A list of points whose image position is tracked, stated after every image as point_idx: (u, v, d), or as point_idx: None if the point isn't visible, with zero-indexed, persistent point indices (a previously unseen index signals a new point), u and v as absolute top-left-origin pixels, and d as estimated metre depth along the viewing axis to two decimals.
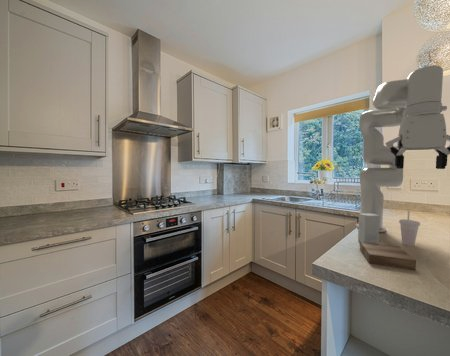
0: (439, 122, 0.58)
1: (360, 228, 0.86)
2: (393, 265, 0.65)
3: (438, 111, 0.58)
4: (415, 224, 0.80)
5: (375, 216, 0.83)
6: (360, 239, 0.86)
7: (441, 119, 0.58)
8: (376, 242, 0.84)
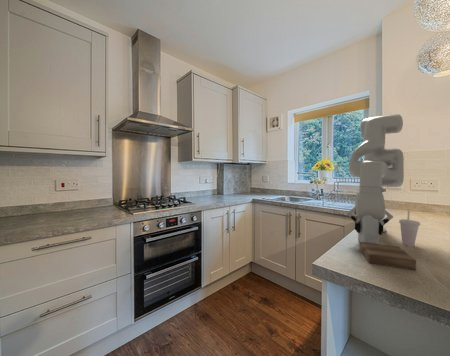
0: (380, 201, 0.81)
1: (360, 228, 0.86)
2: (393, 265, 0.65)
3: (379, 194, 0.81)
4: (415, 224, 0.80)
5: None
6: (360, 239, 0.86)
7: (382, 198, 0.82)
8: (376, 242, 0.84)
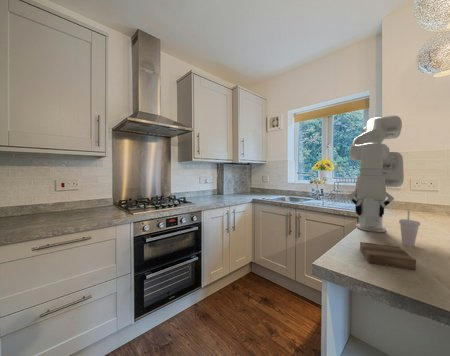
0: (381, 183, 0.81)
1: (361, 211, 0.86)
2: (393, 265, 0.65)
3: (379, 175, 0.81)
4: (415, 224, 0.80)
5: None
6: (361, 222, 0.86)
7: (382, 180, 0.81)
8: (377, 224, 0.84)
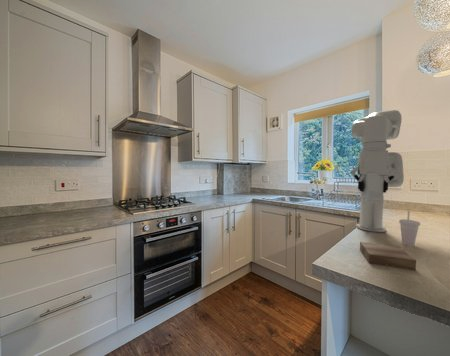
0: (384, 156, 0.78)
1: (364, 187, 0.83)
2: (393, 265, 0.65)
3: (383, 148, 0.78)
4: (415, 224, 0.80)
5: None
6: (363, 198, 0.83)
7: (386, 154, 0.78)
8: (380, 200, 0.80)
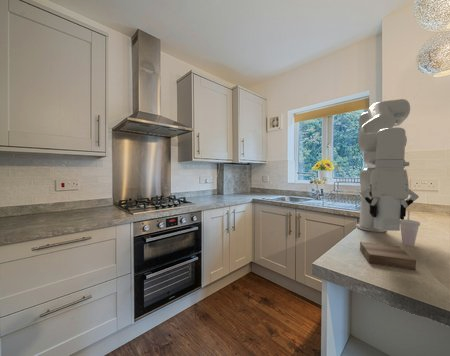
0: (402, 177, 0.66)
1: (376, 212, 0.70)
2: (393, 265, 0.65)
3: (401, 168, 0.65)
4: (415, 224, 0.80)
5: None
6: (376, 225, 0.70)
7: (404, 174, 0.66)
8: (397, 228, 0.68)
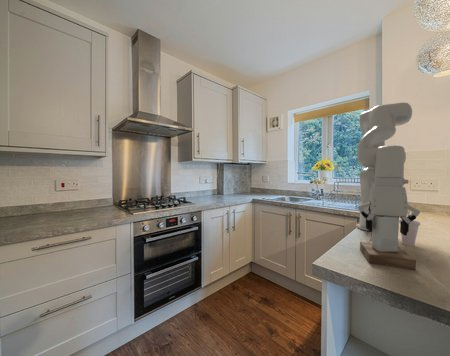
0: (401, 195, 0.66)
1: (375, 232, 0.71)
2: (393, 265, 0.65)
3: (400, 186, 0.65)
4: (415, 224, 0.80)
5: (394, 218, 0.68)
6: (374, 245, 0.71)
7: (403, 192, 0.66)
8: (395, 249, 0.68)
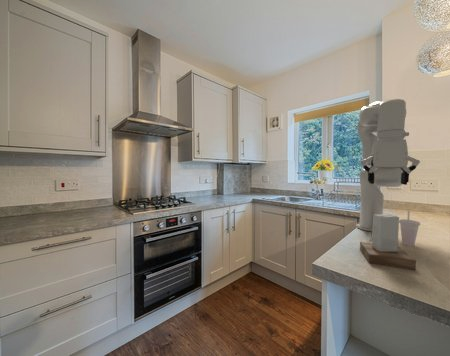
0: (402, 146, 0.70)
1: (375, 232, 0.71)
2: (393, 265, 0.65)
3: (401, 137, 0.69)
4: (415, 224, 0.80)
5: (394, 218, 0.68)
6: (374, 245, 0.71)
7: (404, 143, 0.70)
8: (395, 249, 0.68)
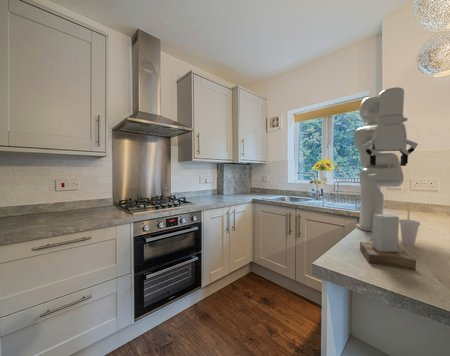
0: (401, 130, 0.76)
1: (375, 232, 0.71)
2: (393, 265, 0.65)
3: (400, 122, 0.76)
4: (415, 224, 0.80)
5: (394, 218, 0.68)
6: (374, 245, 0.71)
7: (403, 127, 0.76)
8: (395, 249, 0.68)
